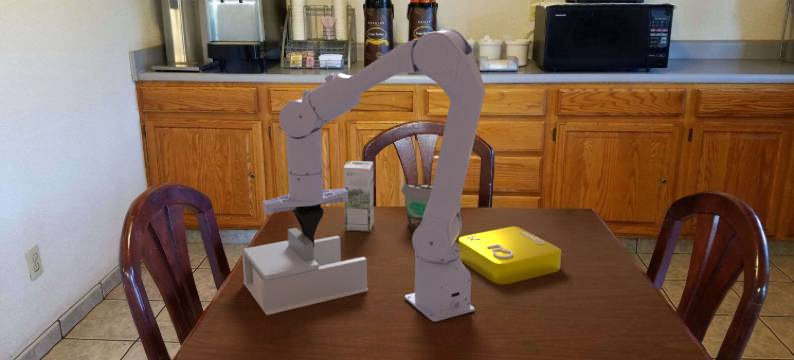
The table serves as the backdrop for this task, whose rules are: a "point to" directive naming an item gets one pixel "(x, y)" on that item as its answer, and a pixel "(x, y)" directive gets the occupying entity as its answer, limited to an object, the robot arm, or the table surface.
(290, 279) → the housing
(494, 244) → the element tile
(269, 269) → the lid
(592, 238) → the table surface
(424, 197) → the food container
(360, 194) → the syrup box
